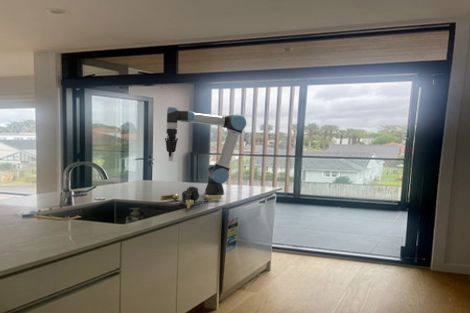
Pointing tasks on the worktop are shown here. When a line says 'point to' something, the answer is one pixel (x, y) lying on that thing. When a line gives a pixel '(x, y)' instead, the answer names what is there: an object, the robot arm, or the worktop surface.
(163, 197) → the knob lever
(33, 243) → the worktop surface
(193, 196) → the camera
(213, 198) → the tribrach
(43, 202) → the worktop surface
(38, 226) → the worktop surface
